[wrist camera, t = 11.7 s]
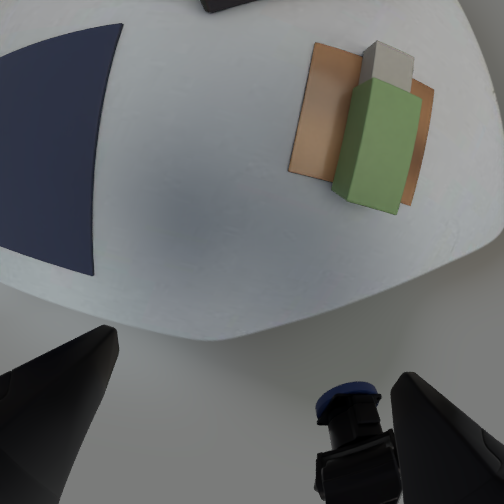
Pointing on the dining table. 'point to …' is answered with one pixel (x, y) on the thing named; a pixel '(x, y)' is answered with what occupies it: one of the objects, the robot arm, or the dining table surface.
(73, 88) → the napkin
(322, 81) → the coaster
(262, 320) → the dining table surface
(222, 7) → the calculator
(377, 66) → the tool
